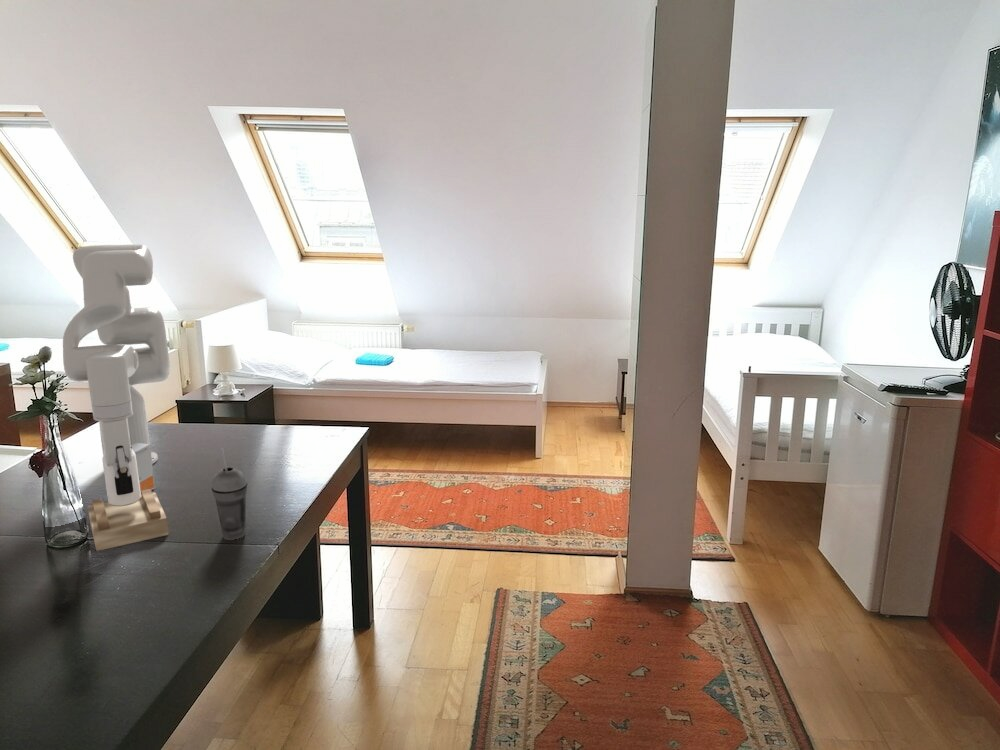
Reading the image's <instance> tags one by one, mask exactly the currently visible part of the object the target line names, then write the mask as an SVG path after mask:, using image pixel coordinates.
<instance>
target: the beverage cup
mask: <svg viewBox="0 0 1000 750" xmlns="http://www.w3.org/2000/svg"><path fill="white" fill-rule="evenodd" d="M220 449H221V455H222V460H223V467H224V468H222V469H220V470H219V471H217V472H216V474H214V477H213V480H212V483H211V491H212V495H213V497H214V500H215V503H216V504H215V505H216V509H217V514H218V517H219V518H218V520H219V524H220V529H221V530H220V531H221V533H222V537H224V538H223V539H224V540H225V541H235V539H237V540H239V538H240V539H242V538H244V537H245V536H244V535H246V525H247V524H246V520H247V519H246V518H247V517H246V513H247V510H246V507H247V505H246V504H247V503H246V500H247V499H246V498H247V497H246V496H247V495H246V494H247V490H248V482H247V479H246V477H245V475H244V474H243V472H242V471H241V470H239V469H238V468H234V467H228V466H227V460H226V455H225V448H224V447H221V448H220ZM243 536H244V537H243ZM241 537H242V538H241Z"/></svg>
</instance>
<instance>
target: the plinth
mask: <svg viewBox="0 0 1000 750" xmlns="http://www.w3.org/2000/svg"><path fill="white" fill-rule="evenodd" d="M91 503H92V504H91V505H87V512H88V519H89V524H90V529H91V533H92V537H93V538H92V539H93V541H94V547H95V550H96V552H100V551H103V550H107V549H112V548H117V547H121V546H126V545H129V544H133V543H134V544H135V543H138V542H143V541H146V540H151V539H155V538H160V537H163V536H169V525H168V519H167V515H166V513H165V511H164V509H163V507H162V504H161V502H160V500H159V498H158V495H157V492H153V490H151V489H147V490H142V491H141V498H140V499H139V501H137V502H136V503H133V504H130V505H126V506H112V505H111V504H109V502H108V501H106V502H104V501H103V498H102V497H101V498H97V499H92V500H91Z"/></svg>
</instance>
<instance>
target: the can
mask: <svg viewBox="0 0 1000 750" xmlns="http://www.w3.org/2000/svg"><path fill="white" fill-rule="evenodd" d="M132 448H133V447H132V446H131V458H132V461H131V462H130V463H128V464H129V470H130V475H131V477H132V484H133V492H132V493H128V494H123V495H117V493H116V486H115V478H114V477H116V475H115V469H114V464H113V465H110V466H107V465H106V463H105V458H104V455H103V454H102V467H103V474H104V481H105V482H104V483H105V491H106V495H107V502H109V504H111V505H112V506H126V505H130V504H133V503H136V502H137V501H139V499H140V498H141V493H140V484H139V476H138V469H137V461H136V455H135V452H134V451H133V450H132ZM116 453H117V452H116ZM128 459H129V458H128ZM115 461H116V463H119V462H118V460H115ZM125 462H126V458H125ZM128 462H129V461H128ZM118 468H119V466H117V469H118Z"/></svg>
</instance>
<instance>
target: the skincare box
mask: <svg viewBox="0 0 1000 750" xmlns="http://www.w3.org/2000/svg"><path fill="white" fill-rule="evenodd" d="M131 446H132V447H133V448H132V450H133V451H134V452H135V455H136V461H137V469H138V476H139V484H140V493H141V491H142V490H147V489H151V491H153V490H155V488H156V486H155V476H154V468H153V464H152V457H151V452H152V450H151V443H150V444H143V443H135V444H133V445H131Z"/></svg>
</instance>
